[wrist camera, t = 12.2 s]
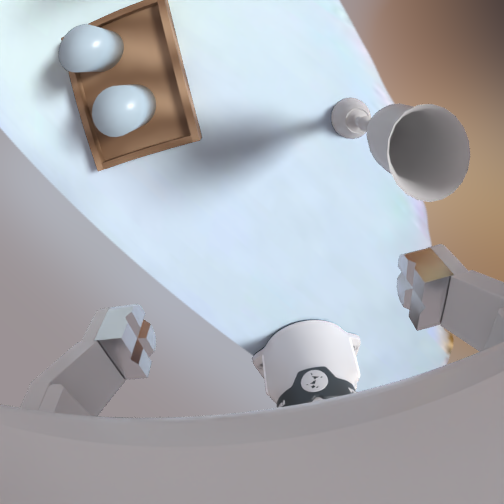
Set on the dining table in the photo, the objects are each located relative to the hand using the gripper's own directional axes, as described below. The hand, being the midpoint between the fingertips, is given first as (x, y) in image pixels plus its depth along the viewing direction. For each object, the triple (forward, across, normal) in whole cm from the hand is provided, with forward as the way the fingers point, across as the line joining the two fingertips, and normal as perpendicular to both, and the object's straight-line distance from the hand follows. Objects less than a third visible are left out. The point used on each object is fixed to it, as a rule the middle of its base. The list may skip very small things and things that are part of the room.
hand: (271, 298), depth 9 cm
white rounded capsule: (+28, +14, -15) cm, 35 cm away
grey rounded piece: (+28, +12, -7) cm, 31 cm away
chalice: (+29, -12, 0) cm, 32 cm away
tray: (+29, +12, -10) cm, 33 cm away
